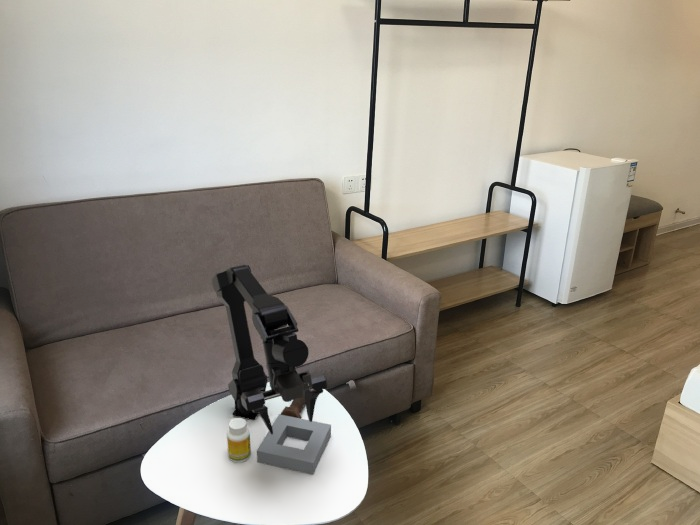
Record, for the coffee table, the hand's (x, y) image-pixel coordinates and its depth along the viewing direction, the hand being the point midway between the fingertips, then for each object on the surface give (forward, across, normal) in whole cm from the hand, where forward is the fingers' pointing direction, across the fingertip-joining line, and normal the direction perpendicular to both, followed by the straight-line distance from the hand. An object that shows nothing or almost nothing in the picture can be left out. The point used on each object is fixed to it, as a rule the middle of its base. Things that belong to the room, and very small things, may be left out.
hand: (291, 427), depth 129 cm
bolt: (+6, +10, +25) cm, 28 cm away
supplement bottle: (+8, -10, +15) cm, 20 cm away
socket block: (+10, +3, +12) cm, 16 cm away
